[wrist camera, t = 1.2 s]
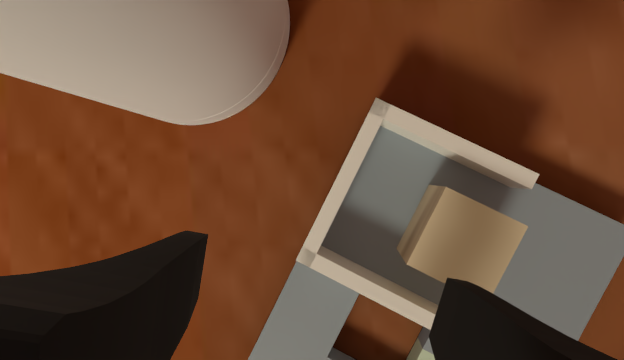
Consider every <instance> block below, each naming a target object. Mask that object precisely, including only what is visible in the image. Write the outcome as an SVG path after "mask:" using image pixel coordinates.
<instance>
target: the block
mask: <svg viewBox="0 0 624 360" xmlns="http://www.w3.org/2000/svg"><path fill="white" fill-rule="evenodd" d="M527 228H528V226H527V225H525V224H523V223H520V222H518V221H516V220H514V219H512V218H510V217H508V216H506V215H504V214H502V213H500V212H498V211H496V210H494V209H491V208H489V207H487V206H485V205H483V204H481V203H479V202H477V201H475V200H473V199H471V198H469V197H467V196H464V195H462V194H460V193H458V192H456V191H454V190H452V189H450V188H448V187H445V186H436V185H428V187H427V189H426V191H425V193H424V195H423V197H422V199H421V201H420V203H419V205H418V207H417V209H416V211H415V213H414V214H413V216H412V218H411V220H410V222H409V224H408V226H407V228H406V230H405V232H404V234H403V236H402V238H401V240H400V242H399V244H398V246H397V248H396V249H397V250H398V252H399V253H400V255H401V257H402V258H403V260H404V261H405V263H406V264H407V265H409V266H411V267H413V268H415V269H417V270H419V271H421V272H423V273H425V274H427V275H429V276H431V277H433V278H435V279H437V280H439V281H441V282H443V283H446V280H447V278H453V279H458V280H464V281H468V282H471V283H473V284H475V285H478V286H480V287H482V288H484V289H485V290H487V291H489V292H491V293H494V291H495V289H496V287H497V285H498V283H499V281H500V279H501V277H502V276H503V274H504V272H505V270H506V268H507V266H508V264H509V262H510V260H511V258H512V257H513V255H514V253H515V251H516V249H517V247H518V245H519V243H520V241H521V239H522V238H523V236H524V234H525V232H526V230H527Z"/></svg>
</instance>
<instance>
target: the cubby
mask: <svg viewBox="0 0 624 360" xmlns="http://www.w3.org/2000/svg"><path fill="white" fill-rule="evenodd" d="M380 126H382V127H384V128H386V129H388V130H391V131H393V132H395V133H397V134H399V135H401V136H403V137H405V138H407V139H409V140H412V141H414V142H416V143H418V144H420V145H422V146H424V147H426V148H428V149H430V150H433V151H435V152H437V153H439V154H441V155H443V156H445V157H447V158H449V159H452V160H454V161H456V162H458V163H460V164H462V165H464V166H466V167H468V168H470V169H473V170H475V171H477V172H479V173H481V174H483V175H485V176H487V177H489V178H492V179H494V180H496V181H498V182H500V183H502V184H504V185H506V186H508V187H510V188H523V189H532V188H533V186H534V184H535V182H536V180H537V178H538V176H539V175H540V174H538V173H536V172H534V171H531V170H529V169H527V168H525V167H523V166H521V165H519V164H517V163H514V162H512V161H510V160H508V159H506V158H504V157H502V156H499V155H497V154H495V153H493V152H491V151H489V150H487V149H485V148H482V147H480V146H478V145H476V144H474V143H472V142H470V141H467V140H465V139H463V138H461V137H459V136H457V135H455V134H453V133H450V132H448V131H446V130H444V129H442V128H440V127H438V126H436V125H433V124H431V123H429V122H427V121H425V120H423V119H421V118H418V117H416V116H414V115H412V114H410V113H408V112H406V111H404V110H401V109H399V108H397V107H395V106H393V105H391V104H389V103H387V102H384V101H382V100H380V99H378V98H376V99H375V101H374V103H373V105H372V107H371V109H370V111H369V113H368V115H367V117H366V119H365V121H364V123H363V125H362V127H361V129H360V131H359V133H358V135H357V137H356V139H355V141H354V143H353V145H352V147H351V149H350V151H349V154H348V156H347V158H346V160H345V162H344V164H343V166H342V168H341V170H340V172H339V174H338V176H337V178H336V180H335V182H334V184H333V186H332V188H331V190H330V192H329V194H328V196H327V198H326V200H325V202H324V204H323V206H322V208H321V210H320V212H319V214H318V216H317V218H316V220H315V222H314V224H313V226H312V228H311V230H310V233H309V235H308V237H307V239H306V241H305V243H304V245H303V247H302V249H301V251H300V253H299V255H298V257H297V259H296V261H298V262H300V263H302V264H304V265H306V266H307V267H309V268H311V269H313V270H315V271H317V272H319V273H321V274H323V275H325V276H327V277H329V278H331V279H333V280H335V281H337V282H338V283H340V284H342V285H344V286H346V287H348V288H350V289H352V290H354V291H356V292H358V293H360V294H362V295H364V296H366V297H367V298H369V299H371V300H373V301H375V302H377V303H379V304H381V305H383V306H385V307H387V308H389V309H391V310H393V311H395V312H397V313H398V314H400V315H402V316H404V317H406V318H408V319H410V320H412V321H414V322H416V323H418V324H420V325H422V326H424V327H426V328H427V329H429V330H431V327H432V324H433V321H434V318H435V315H436V311H437V308H438V305H437V304H435V303H433V302H431V301H429V300H427V299H425V298H423V297H421V296H419V295H417V294H415V293H413V292H411V291H409V290H407V289H405V288H403V287H401V286H399V285H397V284H396V283H394V282H392V281H390V280H388V279H386V278H384V277H382V276H380V275H378V274H376V273H374V272H372V271H370V270H368V269H366V268H364V267H362V266H360V265H358V264H356V263H354V262H352V261H350V260H348V259H346V258H345V257H343V256H341V255H339V254H337V253H335V252H333V251H331V250H329V249H327V248H325V247H323V246H321V244H322V242H323V240H324V238H325V236H326V234H327V232H328V230H329V228H330V226H331V224H332V222H333V220H334V218H335V216H336V213H337V211H338V209H339V207H340V205H341V203H342V201H343V199H344V197H345V195H346V193H347V191H348V189H349V187H350V185H351V183H352V181H353V179H354V177H355V175H356V173H357V171H358V169H359V167H360V165H361V163H362V161H363V159H364V157H365V155H366V153H367V151H368V149H369V147H370V145H371V143H372V141H373V139H374V137H375V135H376V133H377V131H378V129H379V127H380Z"/></svg>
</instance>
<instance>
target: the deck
mask: <svg viewBox="0 0 624 360" xmlns="http://www.w3.org/2000/svg"><path fill="white" fill-rule="evenodd" d="M428 185H436V186H445V187H448V188H450V189H452V190H454V191H456V192H458V193H460V194H462V195H464V196H467V197H469V198H471V199H473V200H475V201H477V202H479V203H481V204H483V205H485V206H487V207H489V208H491V209H494V210H496V211H498V212H500V213H502V214H504V215H506V216H508V217H510V218H512V219H514V220H516V221H518V222H520V223H523V224H525V225H527V226H528V228H527V230H526V232H525V234H524V236H523V238H522V239H521V241H520V243H519V245H518V247H517V249H516V251H515V253H514V255H513V257H512V258H511V260H510V262H509V264H508V266H507V268H506V270H505V272H504V274H503V276H502V277H501V279H500V281H499V283H498V285H497V287H496V289H495V291H494V293H493V294H495V295H496V296H498V297H500V298H502V299H503V300H505V301H507V302H508V303H510V304H512V305H514V306H515V307H517V308H519V309H520V310H522V311H524V312H526V313H527V314H529V315H531V316H532V317H534V318H536V319H538V320H539V321H541V322H543V323H545V324H547V325H548V326H550V327H552V328H554V329H556V330H558V331H560V332H561V333H563V334H565V335H567V336H569V337H571V338H573V339H575V340H577V341H578V339H579V337H580V336H581V334H582V332H583V330H584V328H585V326H586V325H587V323H588V321H589V319H590V317H591V315H592V313H593V312H594V310H595V308H596V306H597V304H598V302H599V301H600V299H601V297H602V295H603V293H604V291H605V290H606V288H607V286H608V284H609V282H610V280H611V278H612V277H613V275H614V273H615V271H616V269H617V267H618V266H619V264H620V262H621V260H622V258H623V256H624V224H621V223H619V222H617V221H615V220H613V219H611V218H609V217H607V216H604V215H602V214H600V213H598V212H596V211H594V210H592V209H590V208H588V207H585V206H583V205H581V204H579V203H577V202H575V201H573V200H571V199H568V198H566V197H564V196H562V195H560V194H558V193H556V192H554V191H551V190H549V189H547V188H545V187H543V186H541V185H539V184H537V183H535V184H534V186H533V188H532V189H523V188H510V187H508V186H506V185H504V184H502V183H500V182H498V181H496V180H494V179H492V178H489V177H487V176H485V175H483V174H481V173H479V172H477V171H475V170H473V169H470V168H468V167H466V166H464V165H462V164H460V163H458V162H456V161H454V160H452V159H449V158H447V157H445V156H443V155H441V154H439V153H437V152H435V151H433V150H430V149H428V148H426V147H424V146H422V145H420V144H418V143H416V142H414V141H412V140H409V139H407V138H405V137H403V136H401V135H399V134H397V133H395V132H393V131H391V130H388V129H386V128H384V127H382V126H380V127H379V129H378V131H377V133H376V135H375V137H374V139H373V141H372V143H371V145H370V147H369V149H368V151H367V153H366V155H365V157H364V159H363V161H362V163H361V165H360V167H359V169H358V171H357V173H356V175H355V177H354V179H353V181H352V183H351V185H350V187H349V189H348V191H347V193H346V195H345V197H344V199H343V201H342V203H341V205H340V207H339V209H338V211H337V213H336V216H335V218H334V220H333V222H332V224H331V226H330V228H329V230H328V232H327V234H326V236H325V238H324V240H323V242H322V244H321V246H323V247H325V248H327V249H329V250H331V251H333V252H335V253H337V254H339V255H341V256H343V257H345V258H346V259H348V260H350V261H352V262H354V263H356V264H358V265H360V266H362V267H364V268H366V269H368V270H370V271H372V272H374V273H376V274H378V275H380V276H382V277H384V278H386V279H388V280H390V281H392V282H394V283H396V284H397V285H399V286H401V287H403V288H405V289H407V290H409V291H411V292H413V293H415V294H417V295H419V296H421V297H423V298H425V299H427V300H429V301H431V302H433V303H435V304H437V305H439V302H440V299H441V296H442V292H443V289H444V286H445V283H443V282H441V281H439V280H437V279H435V278H433V277H431V276H429V275H427V274H425V273H423V272H421V271H419V270H417V269H415V268H413V267H411V266H409V265H407V264H406V263H405V261H404V260H403V258H402V257H401V255H400V253H399V252H398V250H397V249H396V248H397V246H398V244H399V242H400V240H401V238H402V236H403V234H404V232H405V230H406V228H407V226H408V224H409V222H410V220H411V218H412V216H413V214H414V213H415V211H416V209H417V207H418V205H419V203H420V201H421V199H422V197H423V195H424V193H425V191H426V189H427V187H428ZM358 295H359V293H358V292H356V291H354V290H352V289H350V288H348V287H346V286H344V285H342V284H340V283H338V282H337V281H335V280H333V279H331V278H329V277H327V276H325V275H323V274H321V273H319V272H317V271H315V270H313V269H311V268H309V267H307V266H306V265H304V264H302V263H300V262H298V261H297V262H296V264H295V266H294V268H293V270H292V272H291V274H290V276H289V278H288V280H287V282H286V284H285V286H284V288H283V290H282V292H281V294H280V296H279V298H278V300H277V302H276V304H275V306H274V308H273V310H272V312H271V314H270V316H269V318H268V320H267V322H266V324H265V326H264V328H263V330H262V332H261V335H260V337H259V339H258V341H257V343H256V345H255V347H254V349H253V351H252V353H251V355H250V357H249V359H248V360H356V359H354V358H352V357H350V356H348V355H346V354H344V353H343V352H341V351H339V350H337V349H335V348H333V347H332V346H333V344H334V342H335V341H336V339H337V337H338V335H339V333H340V331H341V329H342V327H343V325H344V323H345V321H346V319H347V317H348V315H349V313H350V311H351V309H352V307H353V305H354V303H355V301H356V299H357V297H358ZM429 334H430V330H429V329H427V328H426V327H424V326H423V328H422V330H421V332H420V334H419V336H418V338H417V340H416V341H415V343H414V345H413V347H412V349H411V351H410V353H409V355H408V357H407V359H406V360H435V358H434V354H433V351H432V347H431V343H430V340H429Z"/></svg>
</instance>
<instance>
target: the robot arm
mask: <svg viewBox="0 0 624 360" xmlns="http://www.w3.org/2000/svg"><path fill="white" fill-rule="evenodd" d="M207 238H208V234H202V233H197V232H191V231H183V232H180V233H177V234H175V235H172V236H170V237H167V238H165V239H162V240H160V241H157V242H155V243H152V244H150V245H147V246H144V247H142V248H139V249H136V250H133V251H130V252H127V253H124V254H121V255H118V256H115V257H112V258H108V259H105V260H101V261H97V262H93V263H88V264H84V265H80V266H75V267H70V268H63V269H57V270H50V271H44V272H37V273H30V274H21V275H10V276H0V360H170V359H171V357H172V355H173V353H174V351H175V349H176V348H177V346H178V344H179V342H180V340H181V338H182V336H183V334H184V332H185V331H186V329H187V327H188V324H189V321H190V319H191V316H192V313H193V311H194V308H195V305H196V302H197V300H198V296H199V289H200V283H201V276H202V270H203V264H204V257H205V251H206V244H207ZM429 340H430V343H431V347H432V351H433V354H434V358H435V360H617V359H615V358H612V357H610V356H608V355H606V354H604V353H602V352H600V351H597V350H595V349H593V348H591V347H589V346H587V345H585V344H583V343H581V342H579V341H577V340H575V339H573V338H571V337H569V336H567V335H565V334H563V333H561V332H560V331H558V330H556V329H554V328H552V327H550V326H548V325H547V324H545V323H543V322H541V321H539V320H538V319H536V318H534V317H532V316H531V315H529V314H527V313H526V312H524V311H522V310H520V309H519V308H517V307H515V306H514V305H512V304H510V303H508V302H507V301H505V300H503V299H502V298H500V297H498V296H496V295H495V294H493V293H491V292H489V291H487V290H485V289H484V288H482V287H480V286H478V285H475V284H473V283H471V282H468V281H464V280H458V279H453V278H447V280H446V283H445V286H444V289H443V292H442V296H441V299H440V302H439V305H438V308H437V311H436V315H435V318H434V321H433V324H432V327H431V330H430V334H429Z"/></svg>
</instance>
